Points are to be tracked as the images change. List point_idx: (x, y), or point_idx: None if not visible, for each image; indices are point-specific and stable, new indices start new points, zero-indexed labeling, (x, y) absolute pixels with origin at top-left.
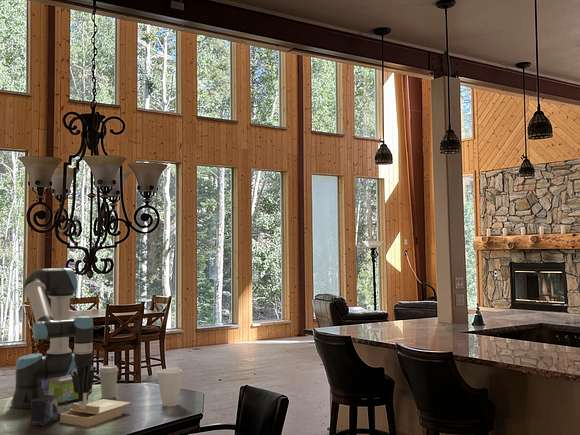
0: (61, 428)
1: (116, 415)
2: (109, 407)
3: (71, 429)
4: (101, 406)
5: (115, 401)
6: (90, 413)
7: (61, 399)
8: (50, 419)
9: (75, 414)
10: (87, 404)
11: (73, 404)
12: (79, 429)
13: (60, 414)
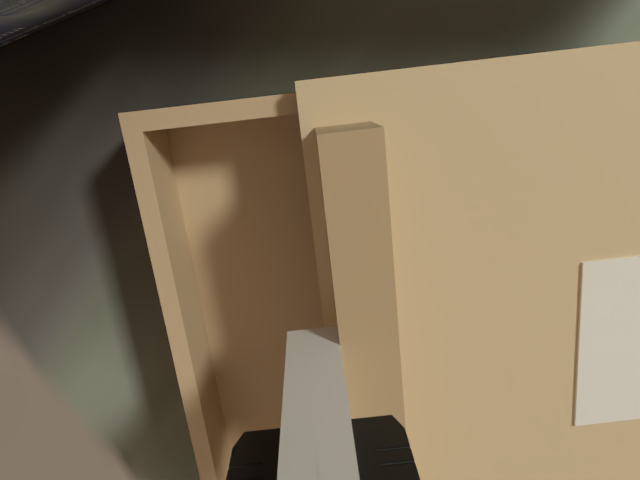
0: (35, 319)
1: None
2: (610, 459)
3: (82, 419)
4: (606, 357)
5: None
6: None
7: None
8: (35, 26)
9: None
10: (637, 83)
11: (320, 161)
12: (129, 471)
13: (121, 114)
